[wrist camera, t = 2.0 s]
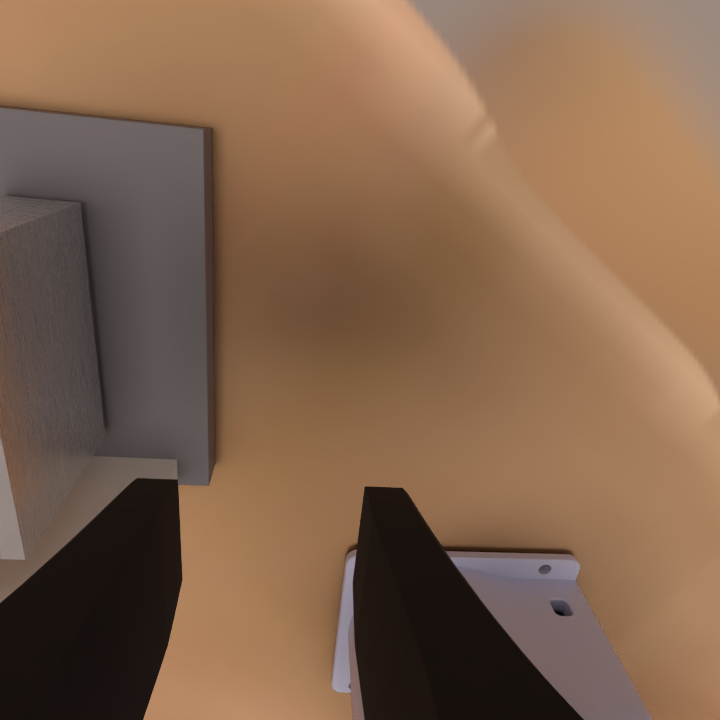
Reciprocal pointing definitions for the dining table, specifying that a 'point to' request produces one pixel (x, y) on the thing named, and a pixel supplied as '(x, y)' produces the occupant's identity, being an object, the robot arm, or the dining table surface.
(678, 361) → the dining table surface
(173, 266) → the base
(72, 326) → the grey rectangular block
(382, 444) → the dining table surface
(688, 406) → the dining table surface
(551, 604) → the robot arm
